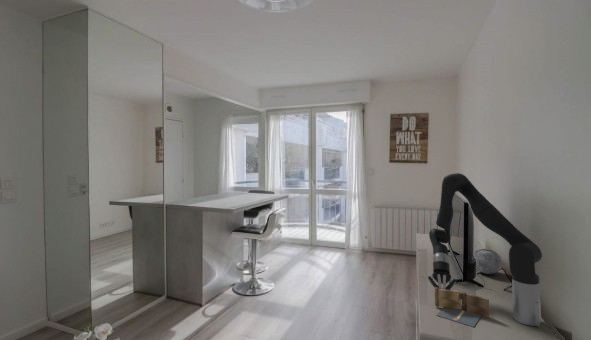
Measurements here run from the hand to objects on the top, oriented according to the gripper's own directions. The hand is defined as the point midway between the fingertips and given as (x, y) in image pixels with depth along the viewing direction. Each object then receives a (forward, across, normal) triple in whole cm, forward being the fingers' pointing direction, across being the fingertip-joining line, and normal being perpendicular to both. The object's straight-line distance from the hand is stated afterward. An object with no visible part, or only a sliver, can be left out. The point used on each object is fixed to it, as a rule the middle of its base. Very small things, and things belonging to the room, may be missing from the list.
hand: (442, 297), depth 142 cm
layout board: (+6, +7, 0) cm, 9 cm away
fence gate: (+3, +2, +2) cm, 4 cm away
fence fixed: (+4, +13, +2) cm, 14 cm away
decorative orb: (-35, +26, +42) cm, 61 cm away
